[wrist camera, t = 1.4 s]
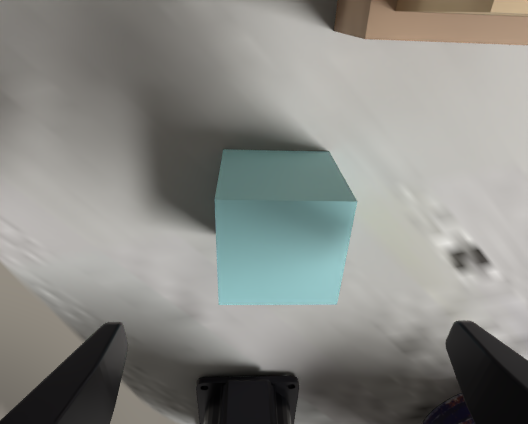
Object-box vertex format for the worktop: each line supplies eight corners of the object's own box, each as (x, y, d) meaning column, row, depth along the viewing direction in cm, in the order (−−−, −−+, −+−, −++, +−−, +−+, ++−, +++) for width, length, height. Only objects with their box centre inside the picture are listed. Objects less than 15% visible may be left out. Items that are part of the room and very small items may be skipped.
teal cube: (316, 237, 17) (337, 304, 13) (225, 236, 17) (218, 304, 13) (328, 150, 15) (357, 201, 11) (223, 148, 15) (214, 199, 11)
